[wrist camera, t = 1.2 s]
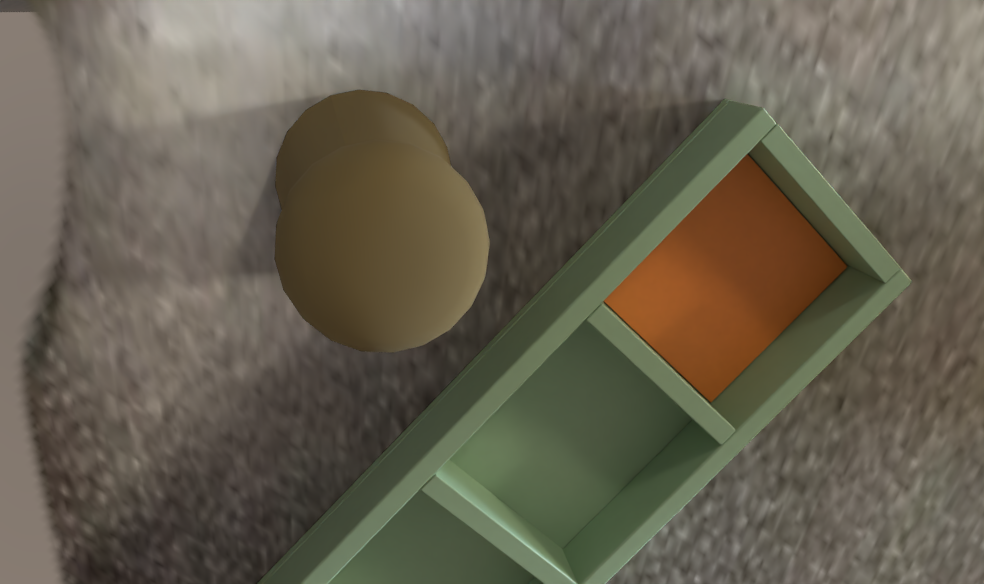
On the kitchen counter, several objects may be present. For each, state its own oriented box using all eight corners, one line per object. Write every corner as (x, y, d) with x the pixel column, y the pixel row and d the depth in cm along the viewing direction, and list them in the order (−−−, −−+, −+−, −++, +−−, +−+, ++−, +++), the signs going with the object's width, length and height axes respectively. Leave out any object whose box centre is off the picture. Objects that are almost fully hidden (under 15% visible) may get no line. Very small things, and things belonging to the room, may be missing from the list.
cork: (456, 257, 32) (521, 375, 22) (284, 271, 31) (266, 402, 21) (448, 85, 30) (515, 124, 20) (265, 94, 29) (235, 140, 19)
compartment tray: (250, 589, 34) (244, 641, 32) (724, 98, 32) (763, 106, 29) (421, 701, 37) (430, 757, 35) (866, 260, 35) (913, 282, 32)
